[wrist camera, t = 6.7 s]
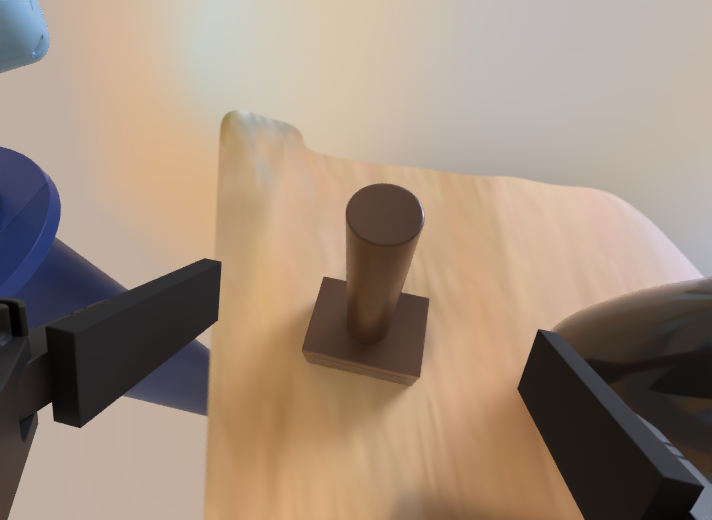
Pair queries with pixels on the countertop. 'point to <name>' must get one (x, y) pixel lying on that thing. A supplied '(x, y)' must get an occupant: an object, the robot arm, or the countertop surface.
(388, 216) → the brown peg on base
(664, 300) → the black pear
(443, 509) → the countertop surface
